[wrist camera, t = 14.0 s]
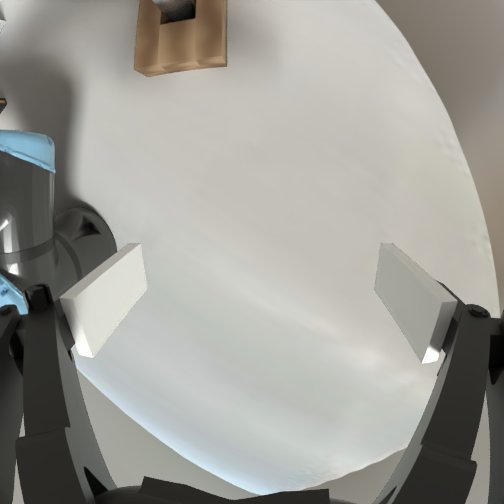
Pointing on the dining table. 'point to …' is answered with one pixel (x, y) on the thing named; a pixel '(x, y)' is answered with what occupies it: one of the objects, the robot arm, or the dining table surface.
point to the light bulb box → (1, 24)
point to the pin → (176, 9)
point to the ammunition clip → (2, 104)
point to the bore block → (181, 39)
